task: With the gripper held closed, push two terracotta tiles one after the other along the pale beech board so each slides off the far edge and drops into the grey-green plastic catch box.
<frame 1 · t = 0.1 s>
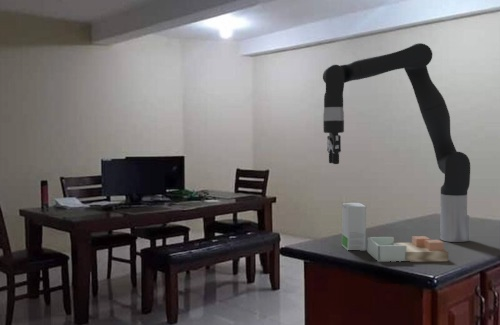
hand: (333, 163, 182), 29 cm above the countertop, fingers open, 8 cm apart
tile b: (433, 248, 156), point 3 cm above the countertop, touching board
tile a: (420, 245, 162), point 3 cm above the countertop, touching board
skincare box: (353, 248, 172), on the countertop
catch box: (385, 256, 159), on the countertop
board: (419, 256, 159), on the countertop
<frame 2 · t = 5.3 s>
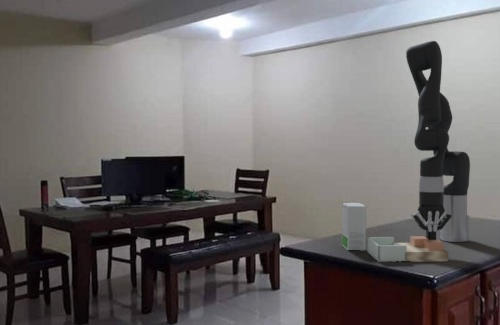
hand: (431, 242, 161), 4 cm above the countertop, fingers closed
tile a: (419, 245, 162), point 3 cm above the countertop, touching gripper
everything else where it was.
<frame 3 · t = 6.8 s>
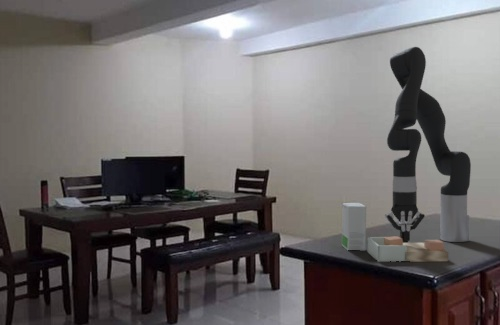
hand: (404, 242, 162), 4 cm above the countertop, fingers closed
tile a: (393, 245, 162), point 3 cm above the countertop, touching catch box, gripper
everything else where it was.
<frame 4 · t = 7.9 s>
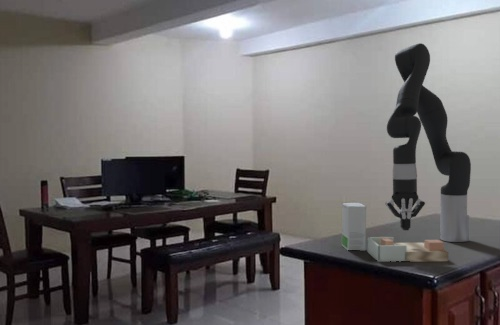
hand: (405, 229, 161), 8 cm above the countertop, fingers closed
tile a: (390, 246, 161), point 3 cm above the countertop, tilted 90°, touching catch box
everything else where it was.
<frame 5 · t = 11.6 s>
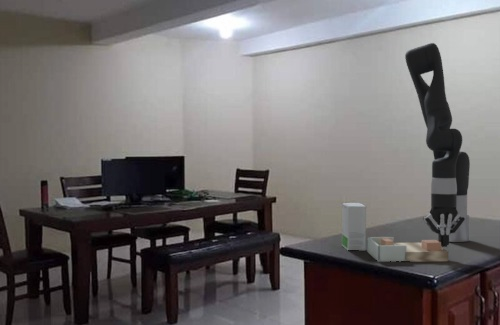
hand: (443, 246, 155), 4 cm above the countertop, fingers closed
tile b: (431, 249, 156), point 3 cm above the countertop, touching board, gripper
everything else where it was.
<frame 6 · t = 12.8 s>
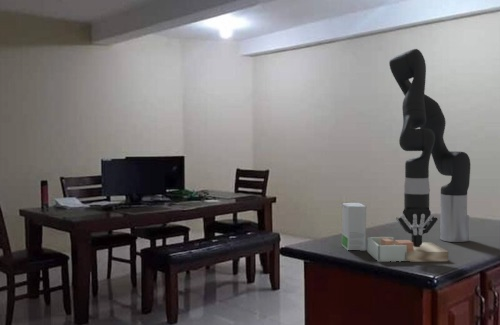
hand: (416, 246, 155), 4 cm above the countertop, fingers closed
tile b: (404, 249, 156), point 3 cm above the countertop, touching gripper
everything else where it was.
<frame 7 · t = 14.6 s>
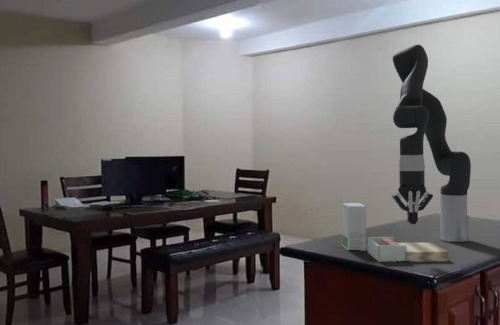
hand: (412, 223, 155), 11 cm above the countertop, fingers closed
tile b: (396, 250, 156), point 3 cm above the countertop, tilted 90°, touching catch box
everything else where it was.
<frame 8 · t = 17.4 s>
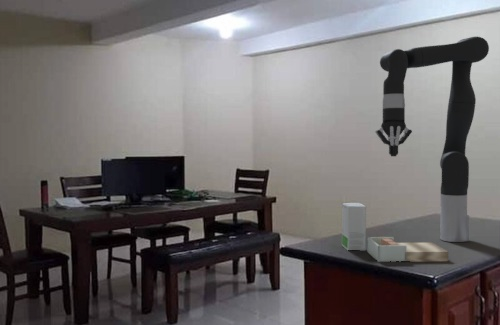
hand: (393, 156, 174), 32 cm above the countertop, fingers closed
nothing on the countertop moved.
at the end: tile a inside the target area (4.1 cm from its centre), point 2.6 cm above the countertop; tile b inside the target area (4.2 cm from its centre), point 2.6 cm above the countertop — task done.
